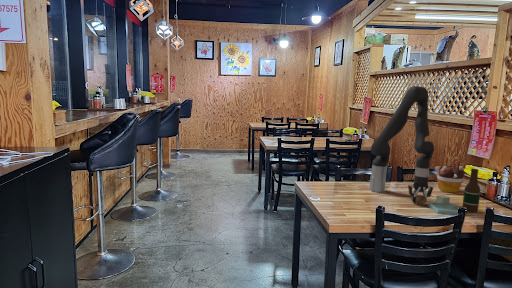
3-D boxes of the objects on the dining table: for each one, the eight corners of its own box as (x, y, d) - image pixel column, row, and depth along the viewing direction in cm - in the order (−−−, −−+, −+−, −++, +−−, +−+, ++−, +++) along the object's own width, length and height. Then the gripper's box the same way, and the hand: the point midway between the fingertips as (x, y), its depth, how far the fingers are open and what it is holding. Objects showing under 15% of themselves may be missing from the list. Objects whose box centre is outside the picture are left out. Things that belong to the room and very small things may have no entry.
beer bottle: (471, 213, 191) (477, 171, 188) (458, 209, 198) (463, 168, 195) (481, 212, 194) (486, 170, 191) (467, 207, 201) (472, 167, 198)
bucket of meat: (452, 195, 225) (456, 165, 222) (428, 189, 239) (431, 161, 236) (469, 192, 235) (472, 163, 232) (445, 186, 249) (448, 158, 246)
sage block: (441, 206, 203) (442, 197, 202) (435, 203, 208) (436, 195, 207) (449, 205, 204) (450, 197, 204) (442, 203, 209) (443, 195, 208)
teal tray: (437, 213, 190) (438, 210, 189) (427, 205, 203) (427, 202, 203) (464, 214, 189) (464, 211, 188) (451, 206, 202) (452, 203, 202)
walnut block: (416, 205, 203) (416, 197, 203) (412, 202, 208) (413, 194, 208) (424, 205, 203) (425, 197, 202) (421, 202, 208) (422, 194, 207)
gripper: (411, 176, 200) (408, 204, 202) (437, 177, 199) (434, 205, 201) (406, 173, 207) (404, 200, 210) (431, 174, 206) (428, 201, 209)
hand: (418, 202), depth 206 cm, fingers closed on walnut block, 5 cm apart
